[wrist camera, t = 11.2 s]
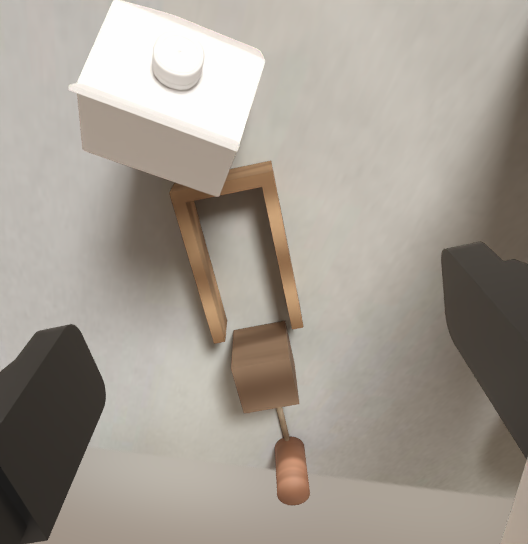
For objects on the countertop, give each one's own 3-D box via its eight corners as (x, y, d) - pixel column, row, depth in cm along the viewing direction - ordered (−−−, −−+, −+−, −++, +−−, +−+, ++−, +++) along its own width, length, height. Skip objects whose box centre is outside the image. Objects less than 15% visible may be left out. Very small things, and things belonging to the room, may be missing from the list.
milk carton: (230, 142, 39) (212, 224, 22) (143, 110, 38) (52, 170, 21) (261, 50, 36) (268, 62, 19) (168, 12, 35) (86, -11, 18)
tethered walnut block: (233, 330, 47) (230, 368, 41) (285, 320, 46) (289, 358, 41) (270, 461, 54) (271, 508, 49) (314, 454, 54) (321, 501, 48)
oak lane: (175, 180, 40) (169, 192, 37) (271, 160, 40) (272, 171, 36) (216, 322, 46) (214, 343, 43) (300, 307, 46) (303, 327, 42)
